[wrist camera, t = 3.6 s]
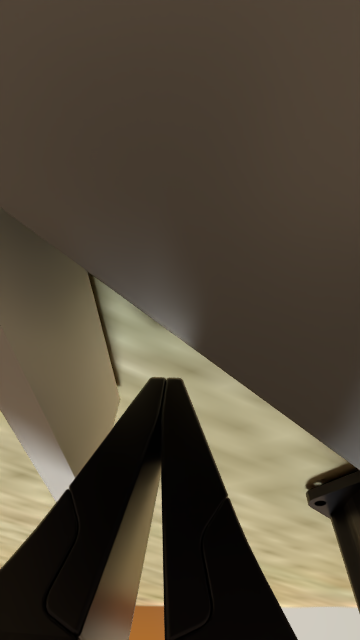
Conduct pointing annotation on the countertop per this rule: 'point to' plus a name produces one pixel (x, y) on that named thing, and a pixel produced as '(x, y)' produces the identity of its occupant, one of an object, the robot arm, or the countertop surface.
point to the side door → (51, 357)
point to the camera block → (203, 177)
